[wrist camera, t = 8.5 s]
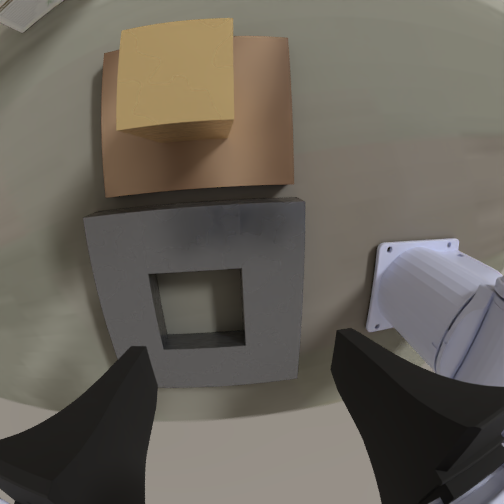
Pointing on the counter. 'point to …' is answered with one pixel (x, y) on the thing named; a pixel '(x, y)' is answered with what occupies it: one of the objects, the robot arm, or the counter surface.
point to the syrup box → (24, 12)
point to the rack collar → (200, 259)
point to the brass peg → (176, 81)
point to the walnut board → (210, 150)
